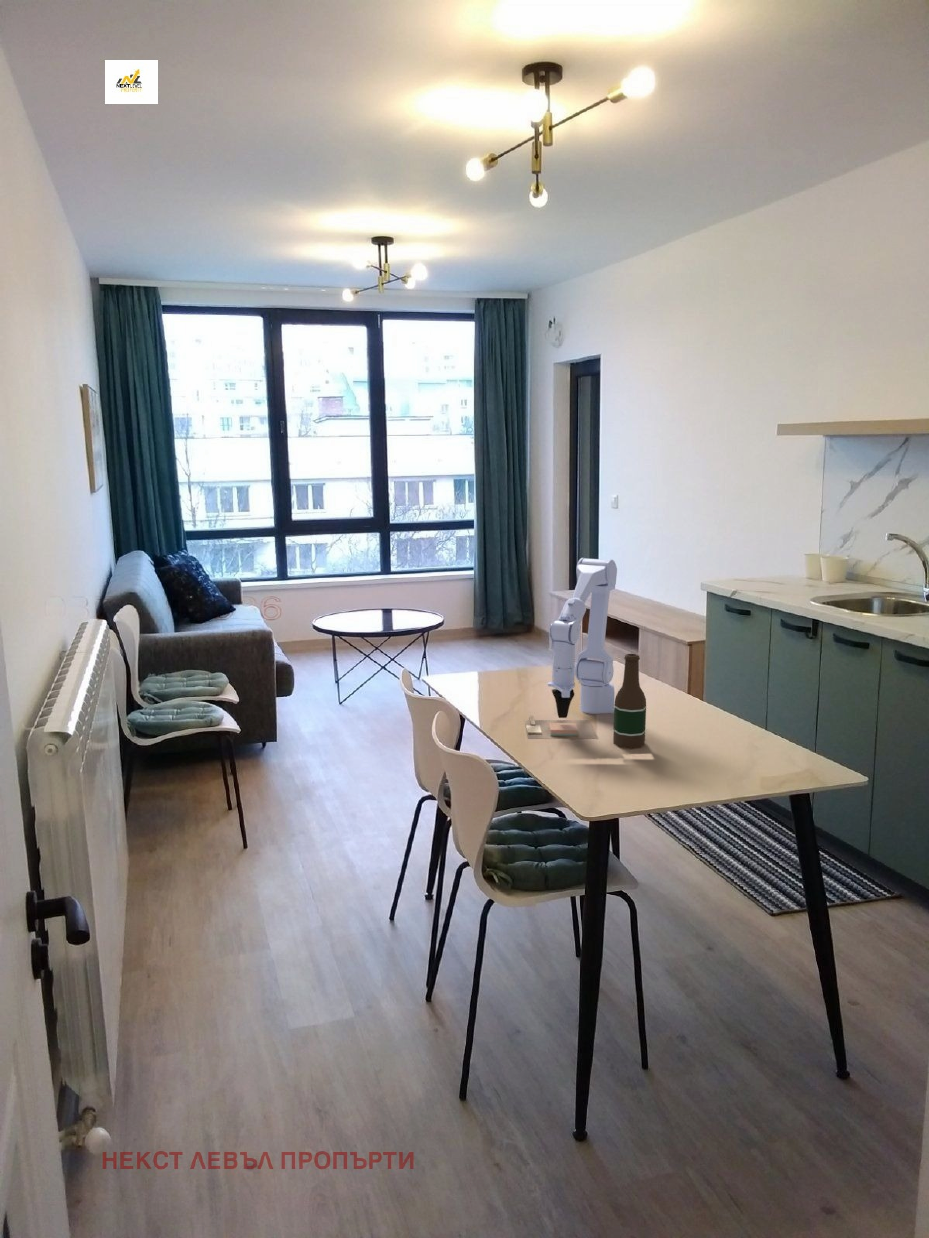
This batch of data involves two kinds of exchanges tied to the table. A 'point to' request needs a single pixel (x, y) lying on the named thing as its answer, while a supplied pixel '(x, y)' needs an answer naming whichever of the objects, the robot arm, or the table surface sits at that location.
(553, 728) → the tile
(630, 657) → the beer bottle
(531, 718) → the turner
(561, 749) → the table surface
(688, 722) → the table surface
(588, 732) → the board
